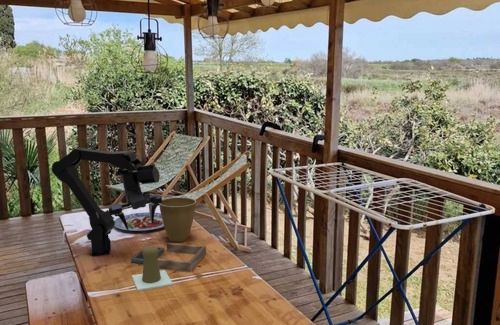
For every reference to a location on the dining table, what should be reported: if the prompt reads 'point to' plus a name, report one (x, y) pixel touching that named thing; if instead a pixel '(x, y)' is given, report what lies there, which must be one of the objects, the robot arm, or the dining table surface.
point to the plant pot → (177, 217)
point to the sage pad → (145, 286)
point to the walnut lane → (183, 265)
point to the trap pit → (140, 259)
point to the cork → (151, 265)
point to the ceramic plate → (140, 222)
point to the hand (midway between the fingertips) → (140, 226)
